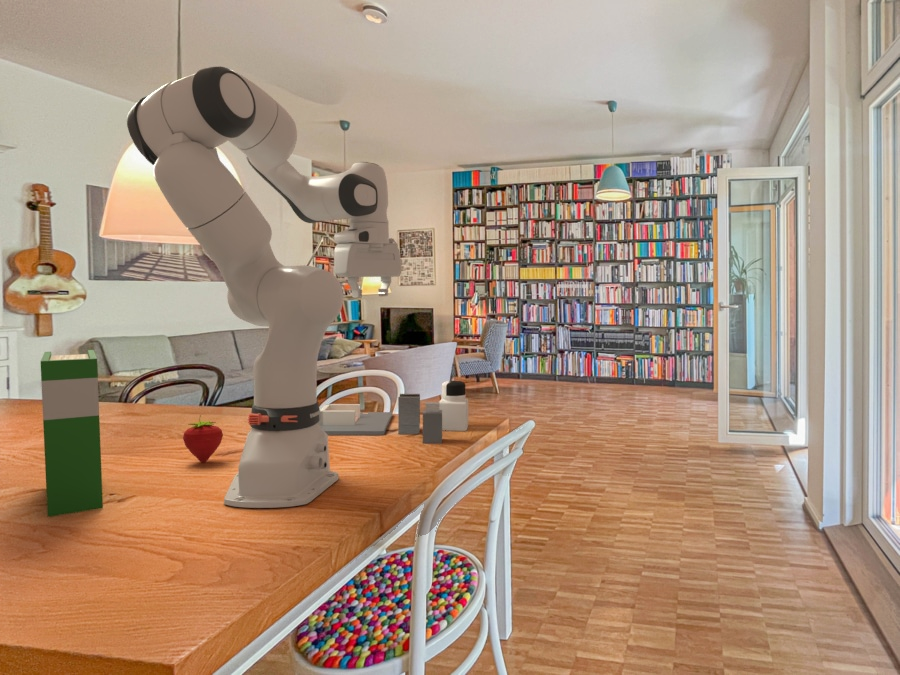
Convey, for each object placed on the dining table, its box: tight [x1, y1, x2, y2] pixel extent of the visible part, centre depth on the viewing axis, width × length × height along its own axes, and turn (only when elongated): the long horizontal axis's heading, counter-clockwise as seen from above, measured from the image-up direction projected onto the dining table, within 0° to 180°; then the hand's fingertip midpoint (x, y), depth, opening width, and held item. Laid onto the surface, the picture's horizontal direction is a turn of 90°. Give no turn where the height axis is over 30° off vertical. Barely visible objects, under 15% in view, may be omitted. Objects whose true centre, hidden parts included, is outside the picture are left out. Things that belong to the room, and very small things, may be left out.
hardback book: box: [40, 349, 104, 517], centre depth 103 cm, size 18×7×24 cm, turn 31°
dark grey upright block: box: [397, 393, 421, 435], centre depth 153 cm, size 6×5×9 cm
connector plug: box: [422, 401, 443, 445], centre depth 143 cm, size 4×4×9 cm
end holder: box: [318, 403, 393, 436], centre depth 161 cm, size 24×24×4 cm
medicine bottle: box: [438, 380, 469, 432], centre depth 157 cm, size 7×7×12 cm
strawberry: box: [182, 414, 224, 463], centre depth 125 cm, size 6×8×10 cm
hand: (370, 296), depth 143 cm, fingers open, 8 cm apart
